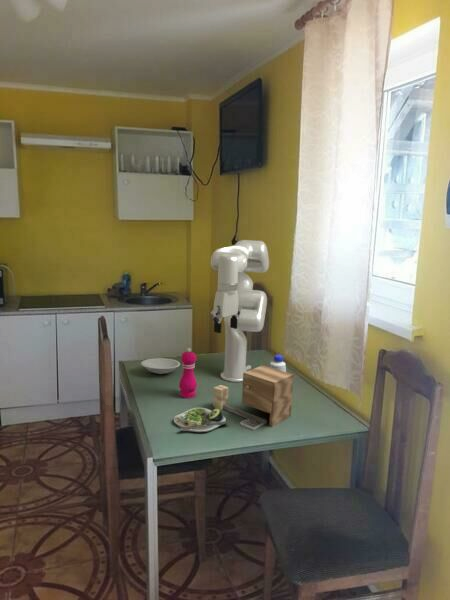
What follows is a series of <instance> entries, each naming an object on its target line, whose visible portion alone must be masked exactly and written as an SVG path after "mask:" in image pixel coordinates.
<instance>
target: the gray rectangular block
mask: <svg viewBox="0 0 450 600" xmlns="http://www.w3.org/2000/svg"><path fill="white" fill-rule="evenodd" d="M239 425H240V426H242V427H245V428H247V429H249V430H252V431H255V430H257V429H259V428H260V427H262V426H265V425H264V422H262V421H259V420H257V419H254V418H251V417H250V418H245V419H244V420H242V421H240V422H239Z"/></svg>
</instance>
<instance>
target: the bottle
mask: <svg viewBox="0 0 450 600" xmlns="http://www.w3.org/2000/svg"><path fill="white" fill-rule="evenodd" d="M283 360H284V356H283V355H282V354H276V355H275V356H274V357H273V361H270V364H269V367H270V368H273V369H277V370H280V371H284V372H287V366H286V365H287V364H286V362H285V361H283Z"/></svg>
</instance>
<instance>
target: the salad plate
mask: <svg viewBox="0 0 450 600" xmlns="http://www.w3.org/2000/svg"><path fill="white" fill-rule="evenodd" d="M184 419H186V420H187V424H186V423H183V421H184ZM230 422H231V421H230V420H227V418H226V417H225V416H224V415H223V413H222V410H220V409H218V408H214V409H212V410H211V409H210V408H209V409H208V408H206V407H193V408H191V409H187V410H186V411H183V412H182V413H180V414H177V415H175V416H174V418H173V423H174V424H175V425H176V426H178V428H179V431H182V432H185V431H186V432H192V433H208V432H211V431H213V430H216V429H218V428H220V427H222V426H224V425H226V424H227V425H228V424H230Z"/></svg>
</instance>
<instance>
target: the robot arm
mask: <svg viewBox="0 0 450 600" xmlns="http://www.w3.org/2000/svg"><path fill="white" fill-rule="evenodd" d="M210 266H211V268H212V270H214V271H218V272H217V290H216V291H215V294H214V295H215V296H214V302H213V309H212V311H210V316H211V320H212V322H213V323H214V324H213V325H214V326H213V332H214V333H217V334H222V320H223V319H224V328H225V330H224V331H225V344H224V347H225V348H224V368H223V371H222V372H221V373H220V378H221V379H222V380H224V381H226V382H232V383H239V382H240V383H241V382H243V373H244V372H247V371H249V370H252V366H251V365H250V364H249V365H246V363H247V349H248V347H247V346H248V345H247V344H248V343H247V342H248V339H247V336H246V334H244V332H255V333H257V332H261V331H263V328H264V324H265V319H266V317H265V316H266V312H267V306H268V305H267V304H268V297H267V294H266V292H265V291H263V290H257V289H254V288H253V287H254V282H253V279H252V278H251V277H250V276H249V275H248V274H247V272H248V273H261V274H263V273H266V272H267V271H268V270H269V267H270V259H269V252H268V247H267V244H266V243H265V242H264V241H263V240H254V239H252V240H250V239H240V240H239V241H237V242H236V243H235V244H234V245H229V246H225V247H220V248H216V250H215V251H213V253H212V255H211V257H210Z"/></svg>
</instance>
